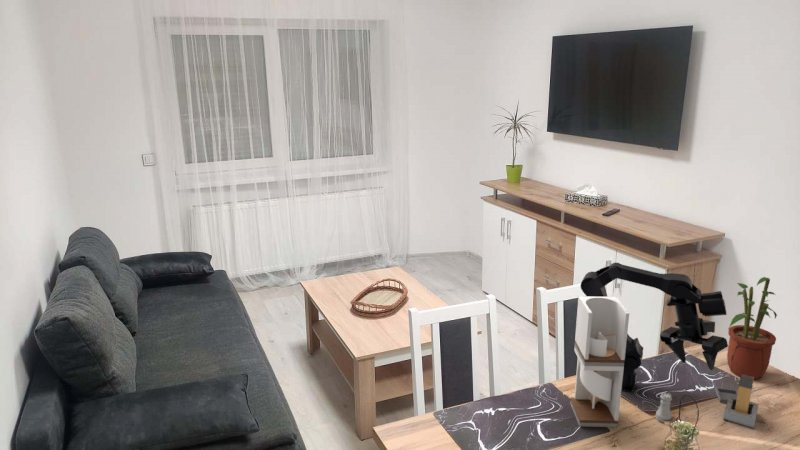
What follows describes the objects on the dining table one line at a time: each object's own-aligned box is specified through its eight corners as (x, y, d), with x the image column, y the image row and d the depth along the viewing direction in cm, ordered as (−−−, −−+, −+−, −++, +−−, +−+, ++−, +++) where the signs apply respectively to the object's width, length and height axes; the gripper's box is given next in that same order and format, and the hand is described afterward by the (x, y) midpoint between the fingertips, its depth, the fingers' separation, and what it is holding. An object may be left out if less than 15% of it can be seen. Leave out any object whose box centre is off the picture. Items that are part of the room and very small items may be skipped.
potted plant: (778, 383, 182) (797, 280, 173) (737, 389, 179) (754, 285, 170) (736, 357, 199) (751, 262, 189) (697, 362, 196) (711, 266, 186)
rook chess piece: (671, 416, 166) (674, 391, 164) (672, 425, 162) (676, 400, 160) (654, 413, 167) (657, 389, 165) (655, 422, 163) (658, 397, 161)
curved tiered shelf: (570, 403, 173) (578, 296, 164) (605, 404, 172) (616, 296, 163) (579, 426, 162) (588, 312, 153) (617, 427, 161) (629, 313, 152)
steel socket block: (723, 423, 162) (725, 409, 161) (727, 409, 169) (729, 395, 168) (753, 432, 158) (755, 418, 157) (756, 417, 165) (758, 404, 164)
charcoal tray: (719, 405, 171) (720, 399, 171) (714, 392, 178) (715, 387, 177) (741, 408, 169) (742, 402, 169) (736, 395, 176) (737, 390, 175)
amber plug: (733, 417, 163) (739, 380, 159) (735, 410, 166) (741, 373, 162) (745, 421, 161) (752, 383, 158) (747, 414, 164) (754, 377, 161)
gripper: (735, 312, 163) (744, 362, 165) (678, 303, 180) (688, 349, 182) (709, 326, 159) (720, 378, 161) (654, 316, 175) (664, 362, 178)
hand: (697, 365), depth 170 cm, fingers open, 9 cm apart
